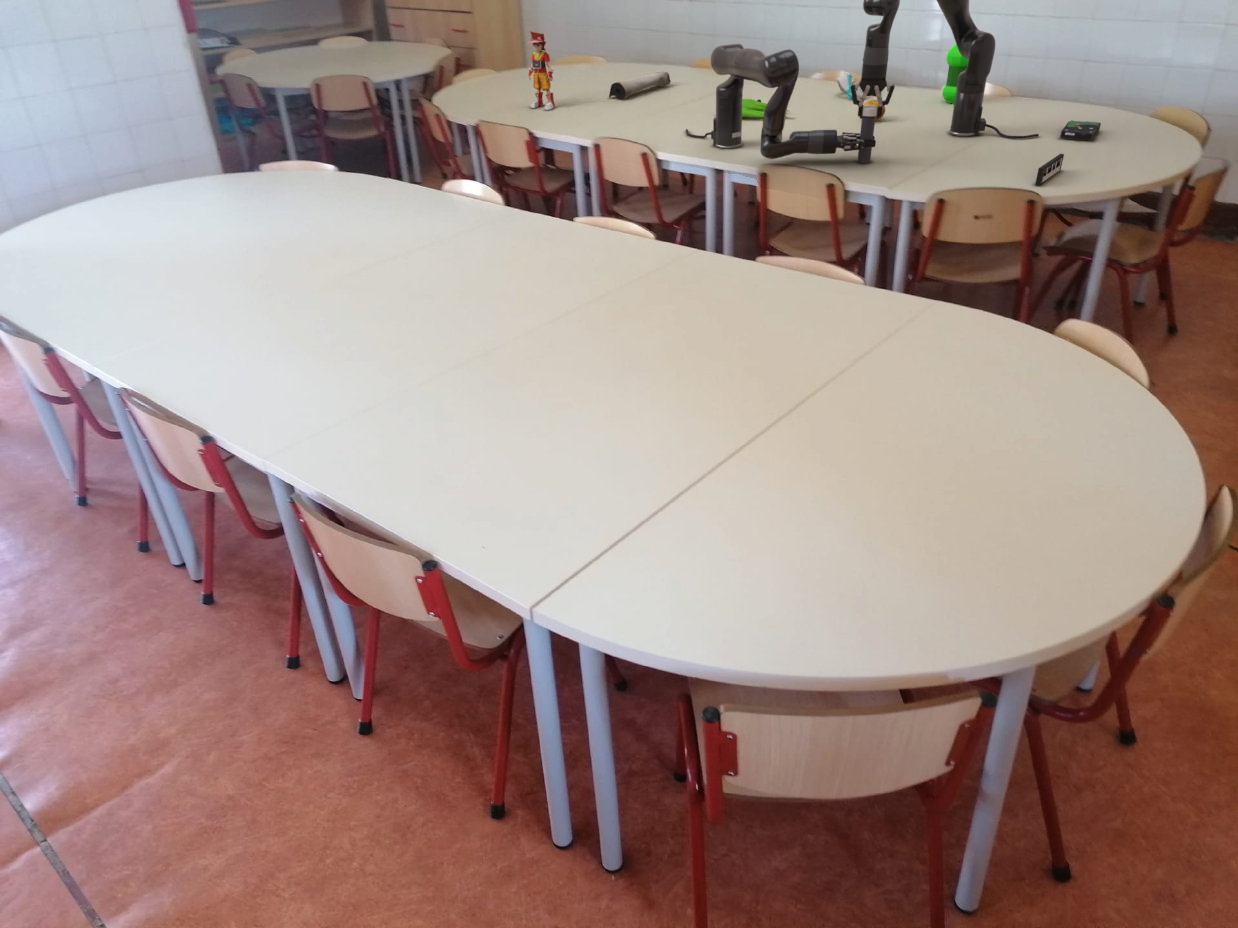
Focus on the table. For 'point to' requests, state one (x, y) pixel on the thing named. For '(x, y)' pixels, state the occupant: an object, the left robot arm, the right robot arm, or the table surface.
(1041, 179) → the midi keyboard
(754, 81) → the left robot arm
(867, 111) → the lid
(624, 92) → the rolled mat
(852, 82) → the anatomical model
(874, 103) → the fruit
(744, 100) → the toy
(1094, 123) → the disk drive
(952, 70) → the green dumbbell
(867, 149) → the dark cylinder
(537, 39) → the toy
